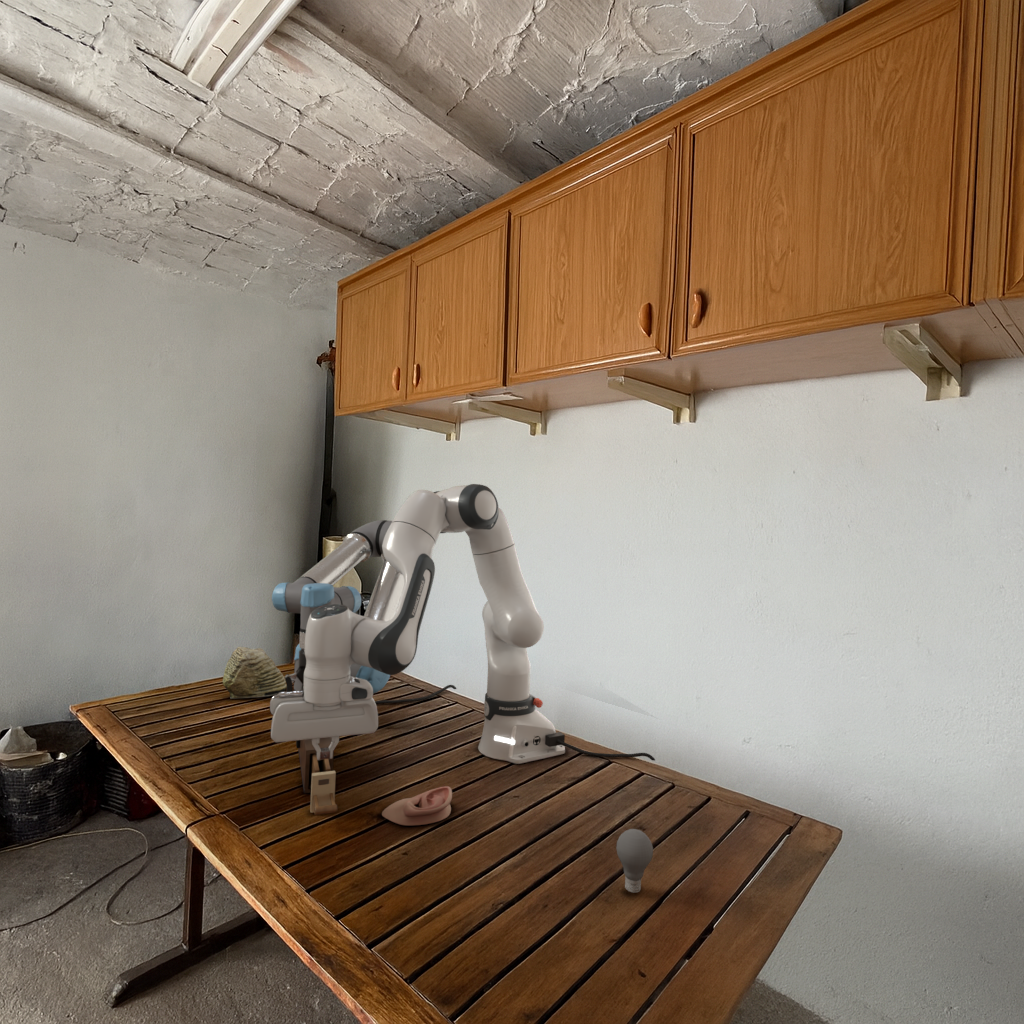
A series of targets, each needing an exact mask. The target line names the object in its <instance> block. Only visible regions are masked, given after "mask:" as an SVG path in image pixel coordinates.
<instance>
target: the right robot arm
mask: <svg viewBox="0 0 1024 1024" xmlns="http://www.w3.org/2000/svg"><path fill="white" fill-rule="evenodd" d="M391 521H392V523H391V525H390V527H389V528H388V530H387V532H386V534H385V537H384V540H383V544H382V550H383V554H384V557H385V559H386V560H387V562H388V563H389V564H390V565H391V566H392V567H393V568H394V569H395V570H397V571H398V572H399V573H400V574H402V575H403V576H404V588H403V591H402V594H401V597H400V600H399V603H398V607H397V610H396V613H395V615H394V617H393V618H392V619H391V620H389V621H387V622H386V621H381V620H375V619H373V618H367V617H364V615H361V614H359V613H357V612H355V613H354V612H352V611H350V610H349V608H348V607H347V606H345V605H340V604H333V605H325V606H321V607H319V608H317V609H315V610H314V611H312V612H311V614H310V616H309V619H308V622H307V627H306V634H305V657H306V668H305V671H304V686H303V690H300V691H294V690H292V692H286V691H284V692H279V694H276V695H273V696H272V697H271V699H270V701H269V712H270V714H271V715H272V719H271V726H270V727H271V728H270V739H271V740H272V741H273V742H274V743H285V742H296V740H307V739H311V741H312V745H313V746H314V748H315V750H316V751H317V760H323V759H332V758H333V759H334V755H333V750H334V751H335V749H336V747H337V745H338V744H339V742H340V737H346V736H356V735H367V734H375V732H376V731H377V730H378V729H379V713H378V706H377V704H376V703H375V701H376V700H375V699H374V698H373V697H374V693H373V688H372V686H371V684H370V683H369V682H368V681H367V680H364V679H360V678H356V677H352V676H350V666H351V665H352V664H358V665H362V666H366V667H370V668H373V669H375V670H378V671H380V672H383V673H385V674H388V675H390V676H395V675H398V674H400V673H401V672H403V671H404V670H406V669H407V668H408V667H409V666H410V665H411V664H412V662H413V661H414V659H415V657H416V654H417V649H418V643H419V633H420V629H421V626H422V622H423V619H424V615H425V612H426V608H427V606H428V601H429V598H430V594H431V591H432V588H433V583H434V579H435V573H436V567H435V566H436V565H435V562H434V560H433V559H432V556H433V552H434V549H435V546H436V544H437V541H438V540H439V536H440V534H447V533H449V534H457V533H464V532H465V534H466V535H467V537H468V539H469V544H470V550H471V554H472V558H473V562H474V565H475V570H476V574H477V578H478V581H479V585H480V587H481V588H482V590H483V592H484V595H485V597H486V599H487V601H486V602H485V604H484V606H483V608H482V611H481V612H482V613H481V616H482V621H483V626H484V627H483V628H484V638H485V639H484V640H485V649H486V656H487V657H486V658H487V682H486V693H485V694H484V702H483V714H484V715H483V716H484V720H483V728H482V733H481V736H480V740H479V743H478V745H477V749H478V752H479V753H481V754H482V755H483V756H486V757H487V758H491V759H494V760H499V761H506V762H509V763H512V764H516V765H517V764H518V765H519V764H524V763H529V762H533V761H538V760H542V759H547V758H552V757H557V756H560V755H563V754H565V753H566V748H568V749H570V750H572V751H575V752H577V753H579V754H583V755H586V756H591V757H600V758H637V757H646V758H648V759H650V760H651V761H654V762H655V761H656V759H655V757H654V756H653V755H651V754H650V753H647V752H636V753H601V752H593V751H587V750H583V749H581V748H579V747H576V746H575V745H572V744H570V743H567V742H565V738H566V734H564V733H562V732H561V731H556V728H555V725H554V723H553V722H552V721H551V720H549V718H547V716H545V715H544V714H543V713H541V712H540V711H539V710H538V709H540V708H542V706H543V704H544V703H543V700H542V699H540V698H539V697H535V696H534V695H532V694H531V692H530V691H531V671H532V670H531V669H532V668H531V667H532V666H531V661H530V659H529V654H528V650H527V649H528V648H531V647H533V646H535V645H537V644H538V642H539V641H540V640H541V639H542V637H543V634H544V630H545V629H544V628H545V624H544V621H543V618H542V616H541V615H540V613H539V611H538V608H537V606H536V604H535V600H534V599H533V596H532V593H531V591H530V589H529V586H528V585H527V581H526V579H525V577H524V575H523V572H522V571H523V570H522V568H521V564H520V560H519V556H518V552H517V548H516V544H515V540H514V536H513V533H512V529H511V527H510V525H509V522H508V520H507V517H506V516H505V513H504V512H503V510H502V509H501V508H500V507H499V502H498V499H497V497H496V495H495V493H494V491H492V489H491V488H489V486H488V485H484V484H479V483H470V484H467V485H465V484H463V485H455V486H451V487H449V488H445V489H442V490H436V491H432V490H431V491H430V490H427V489H418V490H415V491H413V492H412V493H410V495H408V496H407V498H406V500H405V501H404V502H403V504H402V505H401V506H400V508H399V509H398V511H397V512H396V514H395V515H394V517H393V519H392V520H391ZM537 708H538V709H537ZM327 737H331V740H332V742H331V744H330V746H329V747H327V748H320V747H319V745H318V743H319V742H320V738H327Z"/></svg>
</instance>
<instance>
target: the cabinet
mask: <svg viewBox="0 0 1024 1024" xmlns="http://www.w3.org/2000/svg"><path fill="white" fill-rule="evenodd" d="M331 742H332V740H331V737H327V738H320V742H319V743H318V745H319V747H320V748H327V747H329V746H330V744H331ZM334 751H335V749H334V750H333V756H335V755H334V754H335V753H334ZM297 752H298V757H299V758H298V759H299V766H300V773H301V780H302V789H303V794H311V783H310V777H309V767H310V754H313V753H317V751H316V750H315V748H314V746H313V745H312V741H311V739H307V740H300V748H297ZM328 760H329V765H330V771H334V757H333V758H332V759H328Z"/></svg>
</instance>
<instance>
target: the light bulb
mask: <svg viewBox="0 0 1024 1024" xmlns="http://www.w3.org/2000/svg"><path fill="white" fill-rule="evenodd" d="M615 849H616V854H617V857H618V859H619V861H620V863H621V865H622V867H623V873H624V874H623V875H624V876H625V878H624V888H625V890H627V891H628V892H630V893H634V894H635V893H639V892H640V891H641V889H642V887H641V886H642V879H643V877H644V875H645V871H646V868H647V867H648V866H649V864H650V863H651V861H652V859H653V855H654V847H653V843H652V841H651V838H649V836H648V835H647V834H646V833H645V832H643V831H642V830H641V829H636V828H629V829H627V830H625V831H623V832H622V833H621V834H620V835H619V837H618V839H617V841H616V847H615Z"/></svg>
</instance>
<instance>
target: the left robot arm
mask: <svg viewBox="0 0 1024 1024" xmlns="http://www.w3.org/2000/svg"><path fill="white" fill-rule="evenodd" d="M392 521H393V520H387V519H378V520H374V521H370V522H367V523H365V524H363V525H361V526H359V527H357V528H355V529H354V530H352V531H351V532H350V533H348V534H347V535H346V536H344V538H343V540H342V542H341V544H340V545H338V546H337V547H335V549H334V550H332V551H331V552H330V553H328V554H327V555H326V556H325V557H324V558H322V559H321V560H319V562H317V563H316V564H315V565H313V566H312V567H311V568H310V569H308V570H307V571H306V572H304V573H303V574H302V575H301V576H300V577H298V579H296V580H294V582H291V581H290V582H289V581H288V582H280V583H278V584H277V585H276V586H274V589H273V591H272V595H271V602H272V606H273V607H274V609H275V610H277V611H280V612H285V613H289V614H290V613H291V614H300V627H299V643H298V644H297V645H296V647H295V652H294V653H295V654H294V659H293V660H294V672H293V673H290V674H289V673H286V674H285V676H284V677H285V681H286V685H287V687H286V690H285V692H292V691H300V690H303V686H304V671H305V668H306V657H305V634H306V627H307V622H308V619H309V616H310V614H311V612H312V611H314V610H315V609H317V608H319V607H321V606H325V605H333V604H340V605H345V606H347V607H348V608H349V610H350V611H352V612H354V613H357V612H358V611H359V609H360V608H361V606H362V596H361V593H360V592H359V590H358V589H357V588H356V587H354V586H350V585H347V586H346V585H341V586H340V587H338V586H334V585H335V584H337V583H338V582H339V581H340V580H341V579H342V578H343V577H345V576H346V575H347V574H348V573H349V572H350V571H351V570H352V569H354V568H355V567H356V566H357V565H358V564H359V563H364V562H367V560H369V559H371V558H380V559H381V561H382V562H383V564H382V565H381V569H380V570H379V571H380V572H379V573H378V577H377V579H376V582H375V584H374V588H373V590H372V593H371V596H370V598H369V601H368V604H367V607H366V609H365V612H364V615H363V616H364V617H367V618H373V619H375V620H381V621H386V622H387V621H389V620H391V619H392V618H393V617H394V615H395V613H396V610H397V607H398V603H399V600H400V597H401V594H402V591H403V588H404V576H403V575H402V574H400V573H399V572H398V571H397V570H395V569H394V568H393V567H392V566H391V565H390V564H389V563H388V562H387V560H386V559H385V557H384V554H383V550H382V544H383V540H384V537H385V534H386V532H387V530H388V528H389V527H390V525H391V523H392ZM350 676H352V677H356V678H360V679H364V680H367V681H368V682H369V683H370V684H371V686H372V688H373V694H376V693H379V692H380V691H381V690H382V689H384V687H385V686H386V685H387V684H388V682H389V680H390V677H391V675H388V674H385V673H383V672H380V671H378V670H375V669H373V668H370V667H366V666H362V665H358V664H352V665H351V666H350ZM450 688H452V689H453V690H457V689H458V688H457V687H456V686H455V685H453V684H448V685H446V686H444V687H443V688H441V689H439V690H437V691H434V692H432V693H430V694H428V695H426V696H425V695H424V696H421V697H415V698H414V697H413V698H404V699H389V700H387V699H385V700H384V699H383V700H374V701H375V703H376V705H380V704H381V705H382V704H400V703H401V704H402V703H403V704H404V703H412V702H420V701H425V700H428V699H431V698H432V697H433V698H434V696H437V695H439V694H441V693H443V692H444V691H446V690H447V689H450ZM295 746H296V749H298V748H300V740H296V741H295Z"/></svg>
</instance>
